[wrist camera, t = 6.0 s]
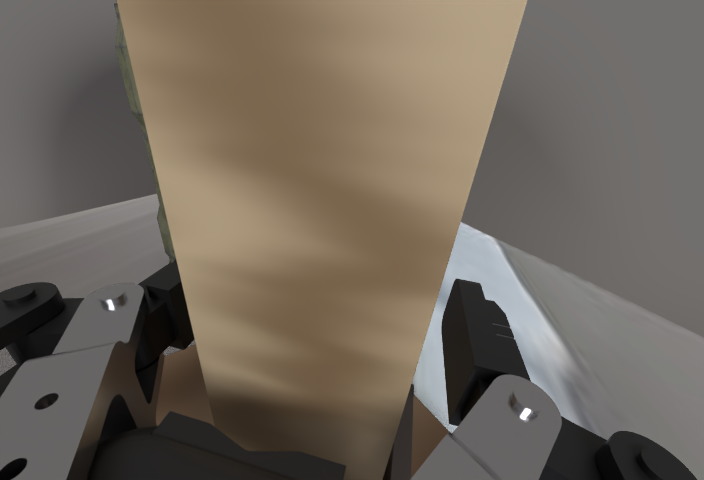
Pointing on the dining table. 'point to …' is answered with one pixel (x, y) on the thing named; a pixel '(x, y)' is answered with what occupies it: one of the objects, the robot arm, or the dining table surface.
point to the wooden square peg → (315, 196)
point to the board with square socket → (192, 400)
